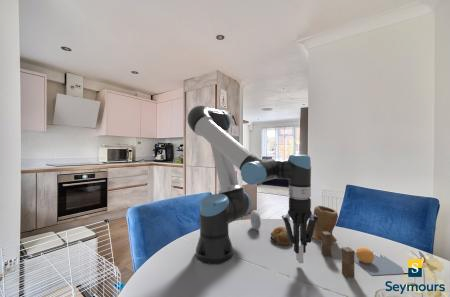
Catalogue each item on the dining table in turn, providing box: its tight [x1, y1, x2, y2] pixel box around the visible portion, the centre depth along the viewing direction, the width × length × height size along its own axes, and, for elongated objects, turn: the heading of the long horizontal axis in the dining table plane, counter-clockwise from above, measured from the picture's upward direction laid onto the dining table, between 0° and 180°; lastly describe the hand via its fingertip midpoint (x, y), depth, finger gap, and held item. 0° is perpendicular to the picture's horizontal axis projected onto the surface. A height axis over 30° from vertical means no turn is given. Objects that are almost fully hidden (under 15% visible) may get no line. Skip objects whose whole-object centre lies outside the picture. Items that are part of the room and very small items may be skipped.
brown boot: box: [306, 205, 339, 244], centre depth 95 cm, size 15×12×15 cm
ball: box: [355, 246, 374, 264], centre depth 75 cm, size 6×6×6 cm
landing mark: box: [354, 251, 405, 277], centre depth 75 cm, size 14×14×1 cm
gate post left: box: [321, 231, 333, 258], centre depth 80 cm, size 3×3×9 cm
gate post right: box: [341, 246, 356, 279], centre depth 68 cm, size 3×3×9 cm
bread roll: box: [270, 226, 293, 246], centre depth 93 cm, size 10×10×8 cm
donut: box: [250, 209, 262, 231], centre depth 105 cm, size 10×4×10 cm, turn 9°
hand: (299, 261), depth 73 cm, fingers closed
